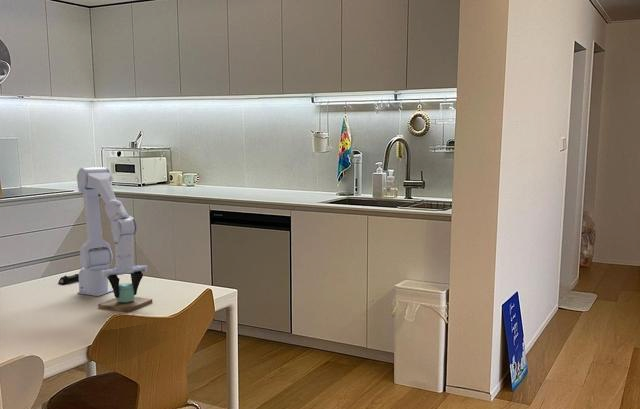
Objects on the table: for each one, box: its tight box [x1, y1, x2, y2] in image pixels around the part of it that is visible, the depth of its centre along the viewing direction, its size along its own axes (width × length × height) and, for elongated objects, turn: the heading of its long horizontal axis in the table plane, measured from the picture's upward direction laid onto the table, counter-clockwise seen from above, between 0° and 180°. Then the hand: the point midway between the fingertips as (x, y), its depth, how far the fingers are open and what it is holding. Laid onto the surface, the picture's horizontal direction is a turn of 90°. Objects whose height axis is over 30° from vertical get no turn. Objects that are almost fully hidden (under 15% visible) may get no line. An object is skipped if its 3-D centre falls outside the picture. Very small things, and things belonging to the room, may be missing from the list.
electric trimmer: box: [57, 273, 79, 286], centre depth 229 cm, size 4×16×3 cm, turn 145°
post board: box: [97, 296, 153, 313], centre depth 198 cm, size 12×12×5 cm
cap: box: [115, 282, 135, 302], centre depth 198 cm, size 5×5×5 cm
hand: (125, 295), depth 197 cm, fingers closed on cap, 5 cm apart
